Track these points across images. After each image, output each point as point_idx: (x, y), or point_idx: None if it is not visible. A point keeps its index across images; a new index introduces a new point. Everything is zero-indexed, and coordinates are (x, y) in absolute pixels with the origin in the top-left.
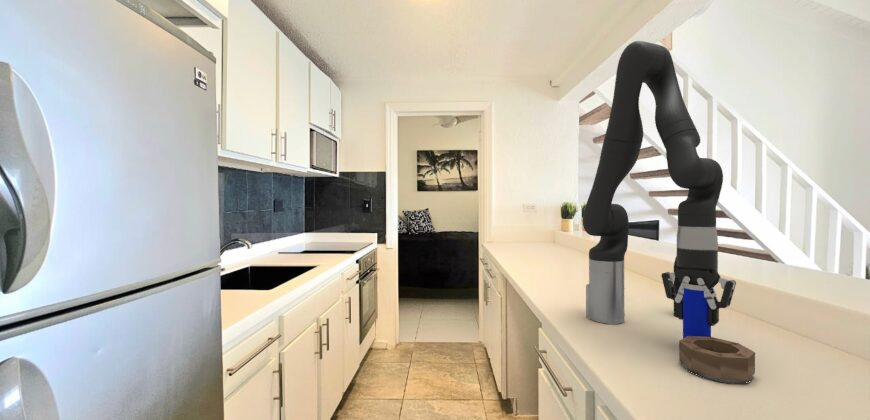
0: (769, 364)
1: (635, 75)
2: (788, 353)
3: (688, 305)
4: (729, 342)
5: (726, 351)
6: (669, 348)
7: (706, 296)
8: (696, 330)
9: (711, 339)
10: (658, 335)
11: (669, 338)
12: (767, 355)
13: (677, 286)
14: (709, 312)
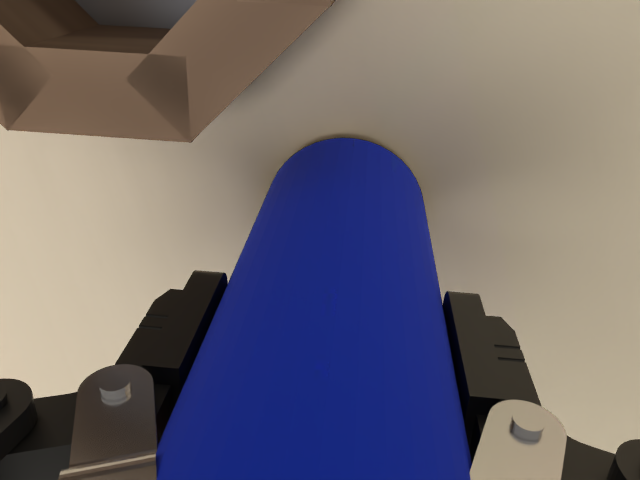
0: (28, 257)
1: None
2: None
3: (372, 331)
4: (48, 95)
5: (81, 36)
6: (489, 109)
7: (122, 471)
8: (310, 196)
9: (160, 64)
10: (599, 317)
11: (527, 307)
12: (86, 377)
13: None
14: (180, 340)
